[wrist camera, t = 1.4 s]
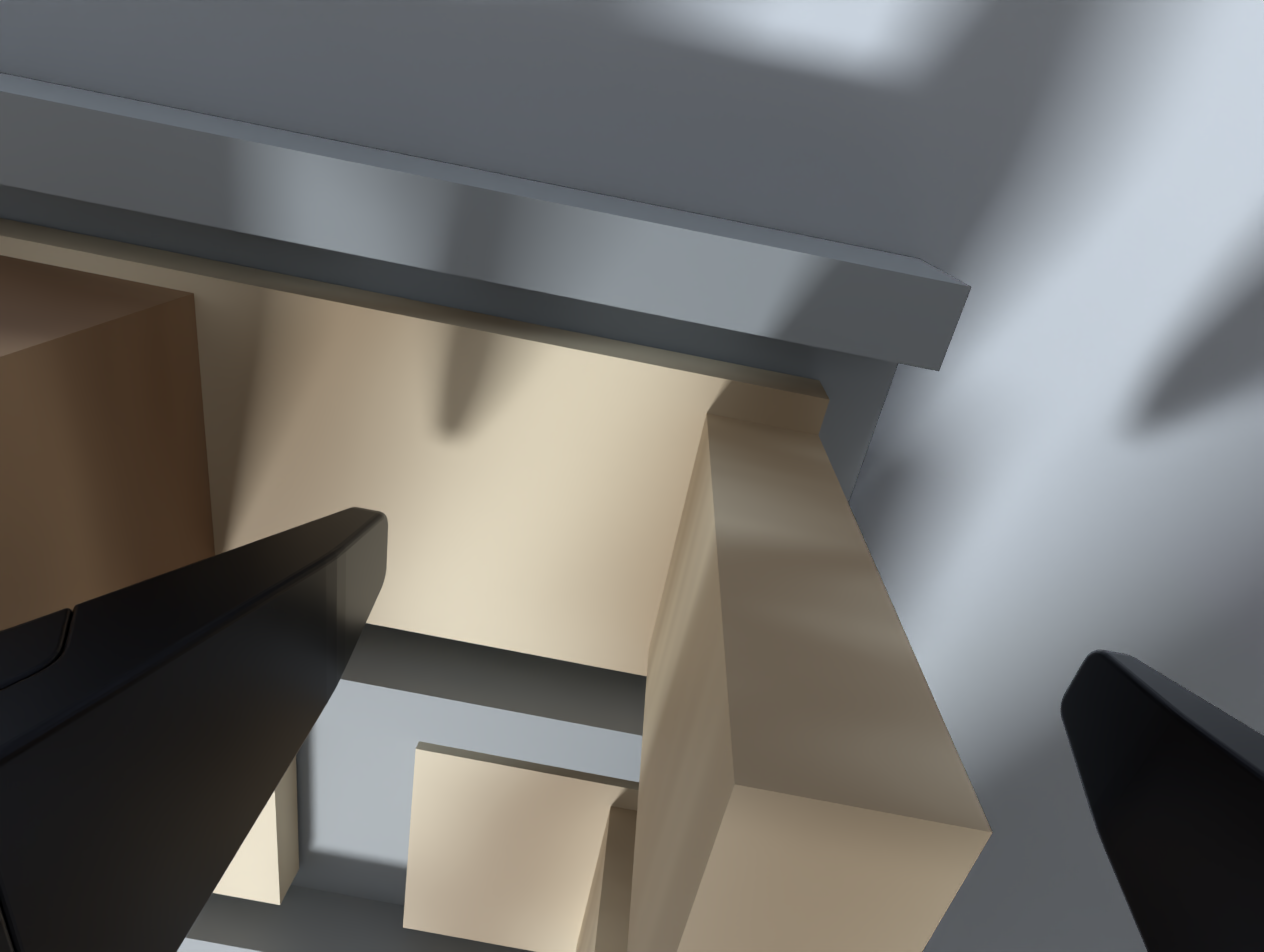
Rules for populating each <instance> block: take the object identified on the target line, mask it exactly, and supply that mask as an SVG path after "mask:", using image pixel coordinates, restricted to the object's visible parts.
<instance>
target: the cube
mask: <svg viewBox="0 0 1264 952" xmlns="http://www.w3.org/2000/svg"><path fill="white" fill-rule="evenodd" d="M212 556H215V547H214V535H213V522H212V510H211V498H210V485H209V473H208V461H207V449H206V436H205V424H204V412H203V399H202V387H201V375H200V362H199V350H198V338H197V326H196V313H195V301H194V293H190V292H185V291H180V290H175V289H170V288H165V287H160V286H155V285H150V284H145V283H140V282H135V281H130V280H125V279H120V278H115V277H109V276H104V275H99V274H94V273H89V272H84V271H79V270H74V269H69V268H64V267H59V266H54V265H49V264H44V263H39V262H34V261H28V260H23V259H18V258H13V257H8V256H3V255H0V631H2V630H5V629H8V628H11V627H14V626H16V625H19V624H22V623H25V622H28V621H31V620H34V619H37V618H39V617H42V616H45V615H48V614H51V613H53V612H56V611H59V610H62V609H64V608H70V609H71V610H72V611H73V608H74V606H75V605H77V604H79V603H82V602H85V601H88V600H90V599H93V598H96V597H99V596H102V595H105V594H107V593H110V592H113V591H116V590H119V589H122V588H124V587H127V586H130V585H133V584H136V583H139V582H141V581H144V580H147V579H150V578H153V577H156V576H158V575H161V574H164V573H167V572H170V571H172V570H175V569H178V568H181V567H184V566H187V565H189V564H192V563H195V562H198V561H201V560H204V559H206V558H209V557H212Z"/></svg>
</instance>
